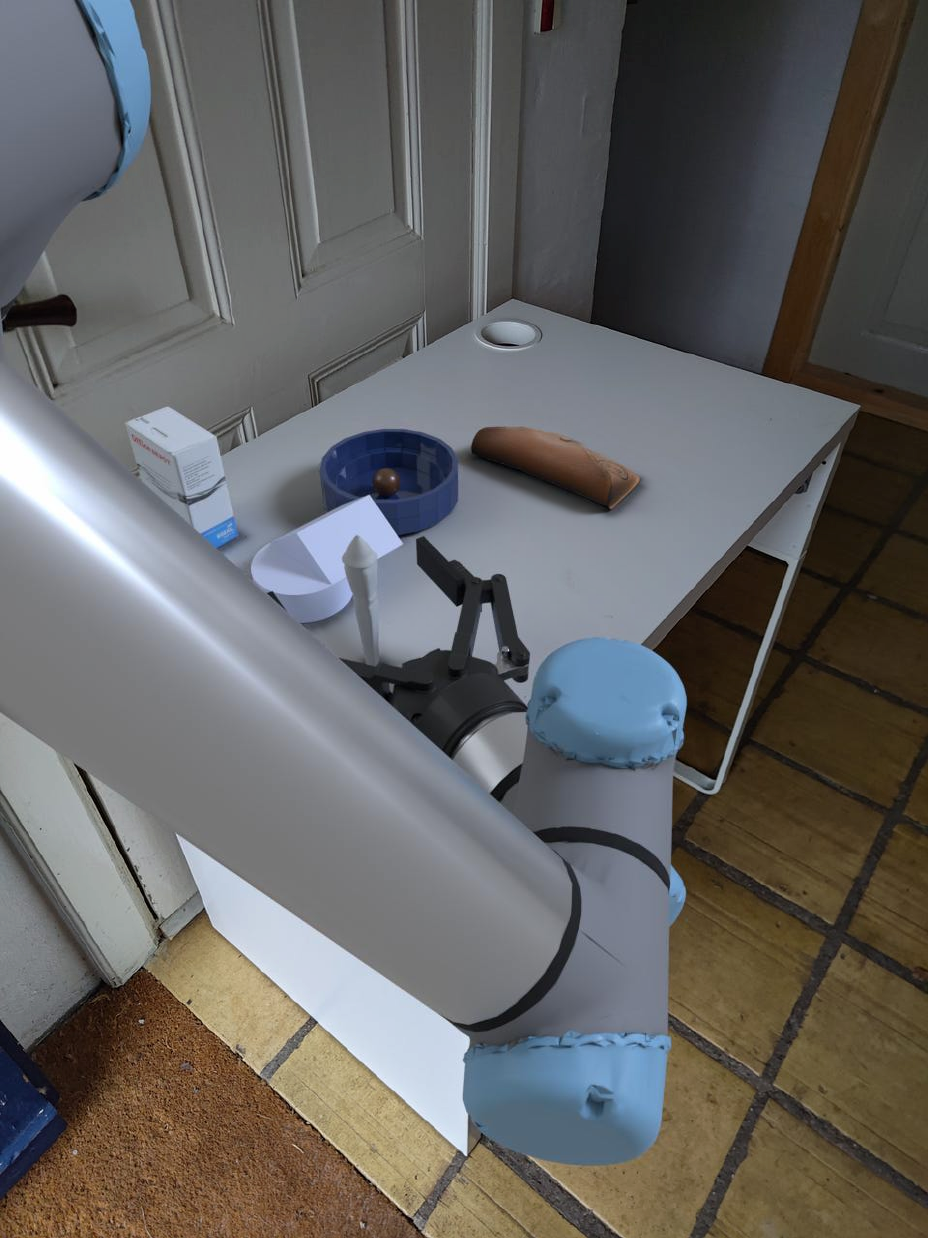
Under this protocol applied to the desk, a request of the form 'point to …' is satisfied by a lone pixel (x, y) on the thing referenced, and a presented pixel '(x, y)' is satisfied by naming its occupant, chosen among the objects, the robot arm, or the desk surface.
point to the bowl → (418, 464)
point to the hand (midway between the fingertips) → (347, 576)
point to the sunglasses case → (557, 462)
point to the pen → (364, 594)
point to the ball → (386, 482)
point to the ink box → (184, 471)
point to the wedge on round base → (320, 559)
